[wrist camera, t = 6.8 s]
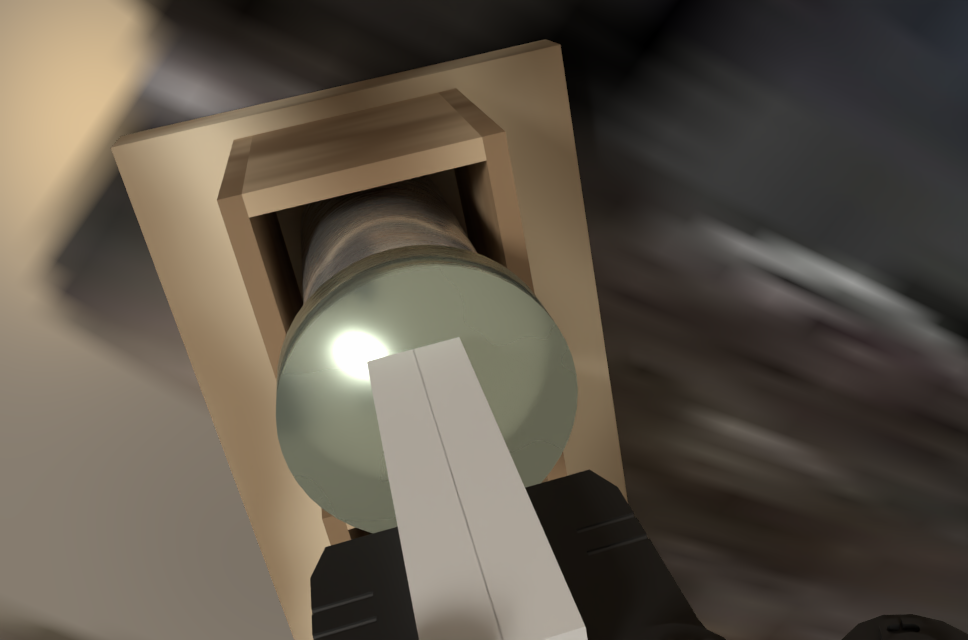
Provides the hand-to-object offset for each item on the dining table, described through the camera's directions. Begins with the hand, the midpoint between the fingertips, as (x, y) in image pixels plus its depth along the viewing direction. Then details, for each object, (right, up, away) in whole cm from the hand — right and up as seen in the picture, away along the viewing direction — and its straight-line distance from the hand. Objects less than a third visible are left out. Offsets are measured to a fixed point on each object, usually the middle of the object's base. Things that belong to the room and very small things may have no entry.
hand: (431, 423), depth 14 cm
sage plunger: (-2, +4, +9) cm, 10 cm away
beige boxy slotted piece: (-1, -2, +15) cm, 15 cm away
